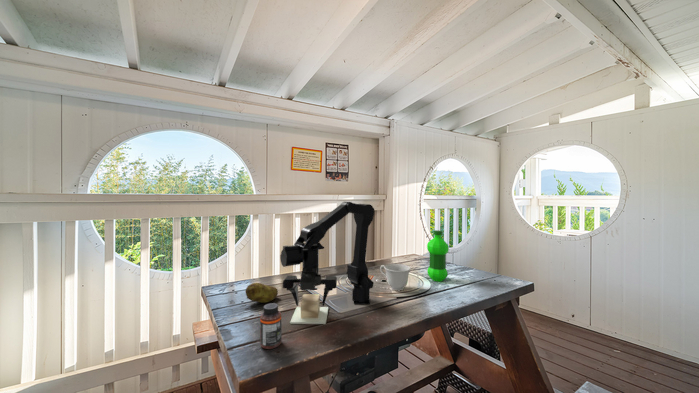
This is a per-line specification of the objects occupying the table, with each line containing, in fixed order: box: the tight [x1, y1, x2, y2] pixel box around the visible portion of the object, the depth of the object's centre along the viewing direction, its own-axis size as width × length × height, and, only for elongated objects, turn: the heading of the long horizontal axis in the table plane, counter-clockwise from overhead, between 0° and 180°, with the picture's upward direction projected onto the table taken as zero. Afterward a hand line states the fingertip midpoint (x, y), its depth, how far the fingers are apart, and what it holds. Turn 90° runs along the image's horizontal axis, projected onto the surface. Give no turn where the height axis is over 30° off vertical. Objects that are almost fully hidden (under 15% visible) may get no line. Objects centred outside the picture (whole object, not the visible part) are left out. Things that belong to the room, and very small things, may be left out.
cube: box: [300, 293, 321, 318], centre depth 96 cm, size 6×6×6 cm
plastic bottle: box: [426, 229, 450, 283], centre depth 137 cm, size 10×10×25 cm
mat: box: [289, 306, 329, 325], centre depth 96 cm, size 12×12×1 cm
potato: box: [245, 282, 279, 304], centre depth 108 cm, size 8×13×8 cm, turn 116°
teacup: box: [379, 263, 412, 292], centre depth 124 cm, size 12×15×10 cm
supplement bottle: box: [259, 302, 282, 350], centre depth 78 cm, size 6×6×11 cm
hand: (310, 305), depth 96 cm, fingers open, 9 cm apart
